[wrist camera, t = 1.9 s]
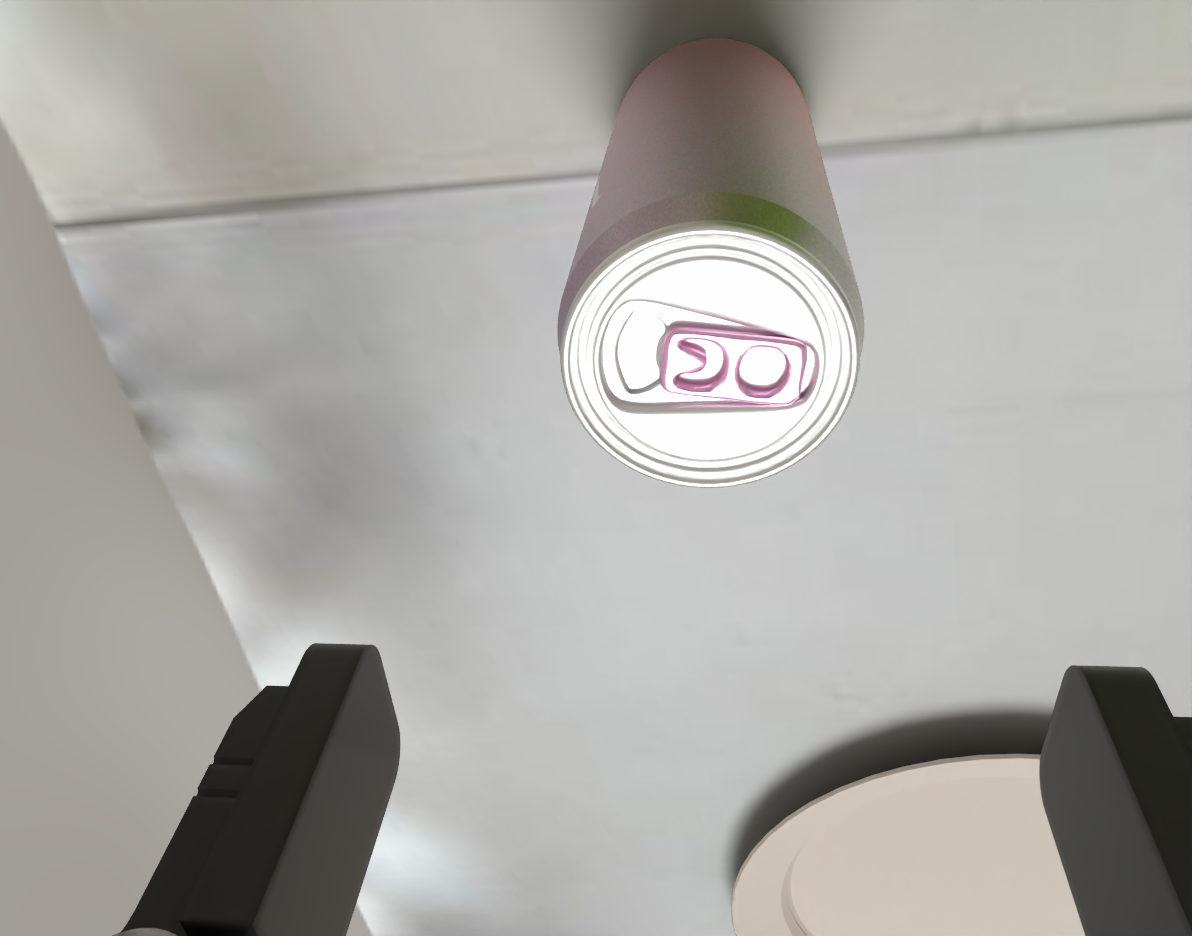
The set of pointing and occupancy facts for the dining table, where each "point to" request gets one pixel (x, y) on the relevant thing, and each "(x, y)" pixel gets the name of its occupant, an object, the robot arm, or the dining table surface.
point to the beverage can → (711, 277)
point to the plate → (913, 858)
